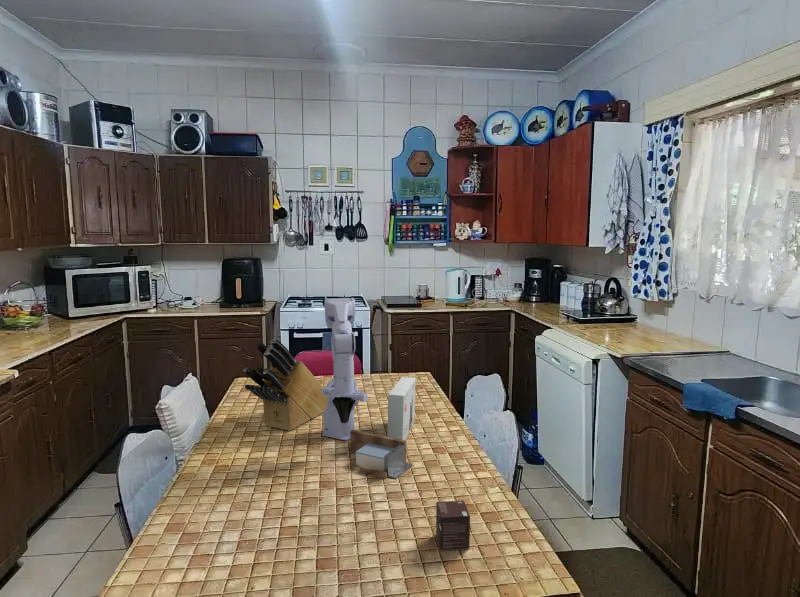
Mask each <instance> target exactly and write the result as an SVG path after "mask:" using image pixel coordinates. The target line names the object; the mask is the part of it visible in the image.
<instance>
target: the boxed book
mask: <svg viewBox="0 0 800 597" xmlns="http://www.w3.org/2000/svg"><path fill="white" fill-rule="evenodd" d="M393 449H394V448H391V447H386V446H382V445H377V444H373V443H368V444H366V445H365V446H363V447H362V448H360V449H359V450H357V451H356V452H355V465H356V466H357V467H358V466H359V467H360V466H365V467H369V468H373V469H377V470H381V471H384V456H385V455H386V454H388V453H389V452H390V451H392V450H393Z"/></svg>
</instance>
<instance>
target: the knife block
mask: <svg viewBox="0 0 800 597" xmlns="http://www.w3.org/2000/svg"><path fill="white" fill-rule="evenodd" d="M269 342H270V345H268V346H267V345H266V344H265V343H264V342H261V341H260V342H258V343H256V345H255V347H256V349H257V350H258V351H259V353H260V354H261V355H263V357H265V358H266V359H267V360H269V362H270V363H271V366H270V368H267V367H266V368H264V369H263V368H262V367H259V366H255V367H253V369H251V368H249V367H244V368H243V371H242V372H243V373H245V374H246V375H247V376H248V377H249V378H250V380H252V381H253V382H254V383H256V384H257V385H255V384H245V385H244V388H245V390H246V391H250V393H252V394H253V395H255V396H256V397H258V398H259V399H261V400H262V405H263V420H264V426H265V427H269V428H276V429H281V430H286V431H293V429H296V428H298V427H299V426H301V425H303V424H304V423H306V422H308V421H309V420H311V419H315V418H316V417H318V416H319V415H321V414H324V410H325V409H326V407H327V395H322V388H323V387H324V386H323V385H322V384H321V383H320V381H319V380H318V379H317V378H316V377H315V376H314V374H312V372H311V371H310V369H308V367H307V366H306V365H305V364H304V363H303V361H301V360H296V358H295V357H294V356H293V355H292V353H291V352H290V351H289V349H288V348H287V347H286V346H285V345H284V344H283V343H282V342H280V341H279V340H278V339H276V338H273V339H271V340H270V341H269ZM258 372H259V373H258ZM330 405H331V401H330Z"/></svg>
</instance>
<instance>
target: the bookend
mask: <svg viewBox="0 0 800 597" xmlns="http://www.w3.org/2000/svg"><path fill="white" fill-rule="evenodd" d="M411 467H413V464H412V463H409V462H404V444H400V445H398V446H397V447H396V448H394V449H393V450H392V451H390V452H389V453H388V454H386V455H385V456H384V471H385V472H387V478H390V479H394V480H397V479H398V478H400V477H401V476H402V475H403V474H404V473H405V472H407V471H408V470H409V469H410V468H411Z"/></svg>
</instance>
